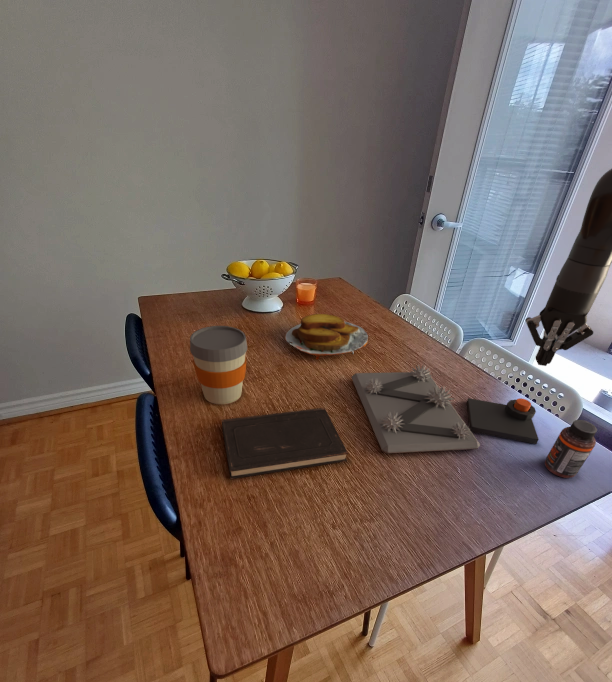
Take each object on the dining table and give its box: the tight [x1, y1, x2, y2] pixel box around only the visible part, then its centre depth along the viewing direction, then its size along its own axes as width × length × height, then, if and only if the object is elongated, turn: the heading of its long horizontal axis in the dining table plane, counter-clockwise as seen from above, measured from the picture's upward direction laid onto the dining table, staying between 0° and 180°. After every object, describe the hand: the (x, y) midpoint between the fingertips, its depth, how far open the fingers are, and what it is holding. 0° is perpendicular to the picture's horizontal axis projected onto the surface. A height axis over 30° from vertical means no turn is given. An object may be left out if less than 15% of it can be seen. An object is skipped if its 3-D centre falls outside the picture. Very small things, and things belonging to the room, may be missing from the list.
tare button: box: [514, 397, 532, 412], centre depth 93 cm, size 3×3×2 cm
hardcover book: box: [220, 407, 349, 480], centre depth 82 cm, size 16×23×2 cm
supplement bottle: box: [544, 419, 598, 479], centre depth 78 cm, size 6×6×11 cm
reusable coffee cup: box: [189, 325, 248, 405], centre depth 92 cm, size 12×13×15 cm
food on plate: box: [284, 313, 370, 361], centre depth 120 cm, size 25×25×7 cm
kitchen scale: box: [466, 397, 539, 445], centre depth 92 cm, size 14×13×3 cm
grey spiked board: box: [350, 363, 481, 454], centre depth 92 cm, size 30×22×7 cm
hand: (541, 363), depth 86 cm, fingers closed
